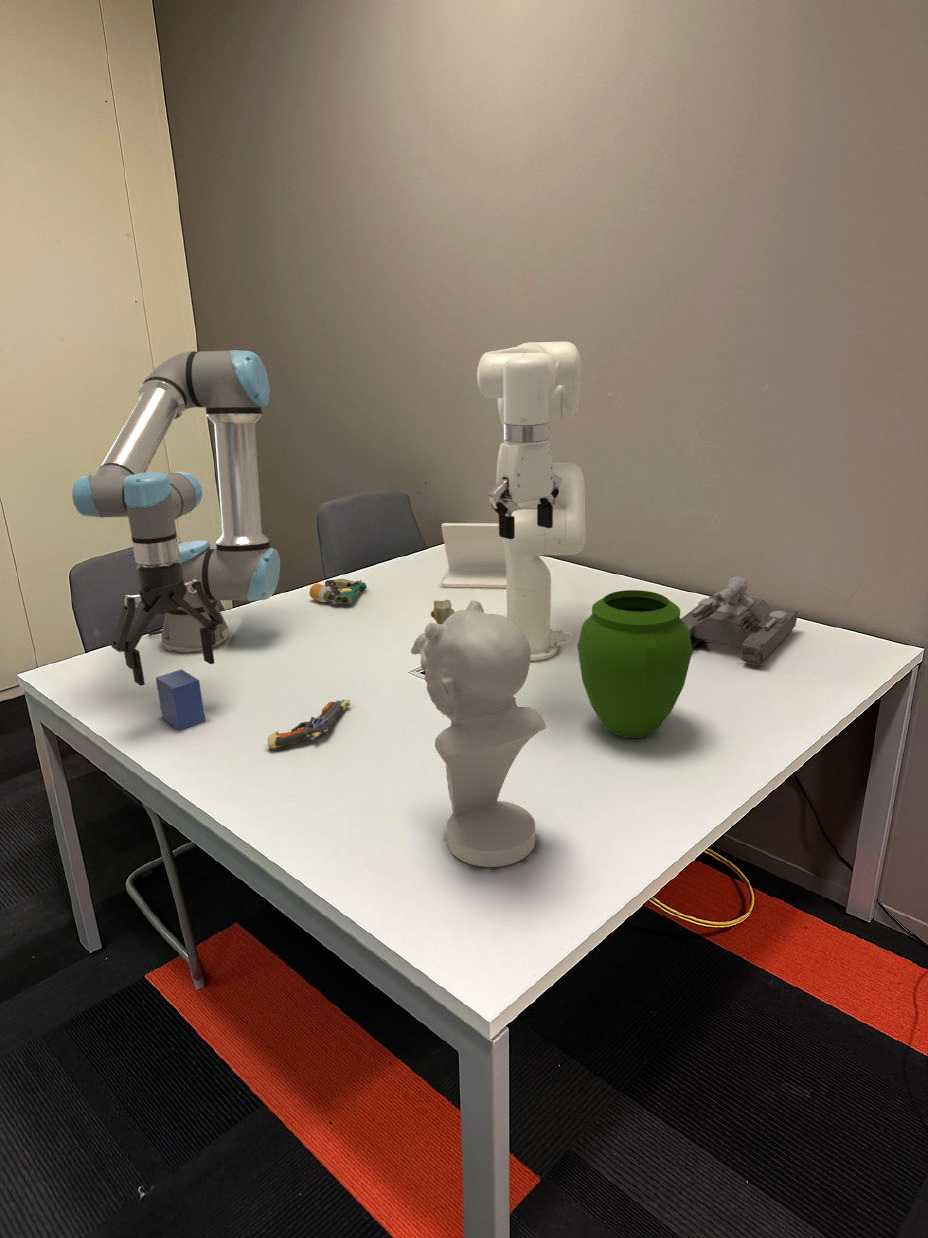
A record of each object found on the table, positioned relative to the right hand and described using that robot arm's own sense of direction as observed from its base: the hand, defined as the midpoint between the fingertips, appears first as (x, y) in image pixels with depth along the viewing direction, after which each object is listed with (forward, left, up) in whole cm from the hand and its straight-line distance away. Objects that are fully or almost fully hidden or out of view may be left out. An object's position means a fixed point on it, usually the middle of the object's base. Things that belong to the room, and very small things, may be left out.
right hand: (526, 532), depth 150 cm
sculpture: (+11, -22, -35) cm, 42 cm away
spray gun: (+28, -76, -35) cm, 88 cm away
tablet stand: (-14, -80, -35) cm, 88 cm away
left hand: (+64, -13, -25) cm, 70 cm away
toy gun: (+40, -3, -35) cm, 53 cm away
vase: (-16, +13, -35) cm, 40 cm away
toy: (-54, -19, -35) cm, 67 cm away
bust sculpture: (+19, +36, -35) cm, 54 cm away
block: (+64, -13, -35) cm, 74 cm away
